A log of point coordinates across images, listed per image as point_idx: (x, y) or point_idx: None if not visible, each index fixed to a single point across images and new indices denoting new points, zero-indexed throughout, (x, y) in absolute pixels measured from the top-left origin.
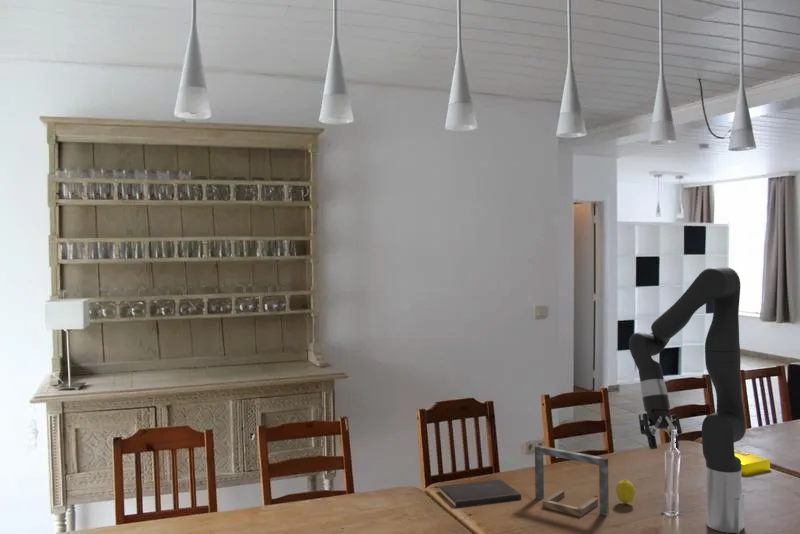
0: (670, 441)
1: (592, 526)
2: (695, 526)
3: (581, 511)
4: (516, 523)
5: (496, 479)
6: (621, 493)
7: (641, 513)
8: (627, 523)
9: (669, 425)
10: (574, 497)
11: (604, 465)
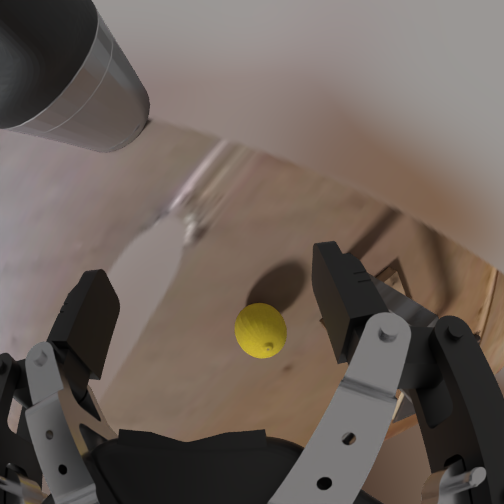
0: (106, 347)
1: (397, 215)
2: (175, 131)
3: (393, 271)
4: (467, 267)
5: (398, 420)
6: (282, 317)
7: (254, 248)
8: (327, 202)
9: (78, 446)
10: (333, 365)
11: (425, 310)
